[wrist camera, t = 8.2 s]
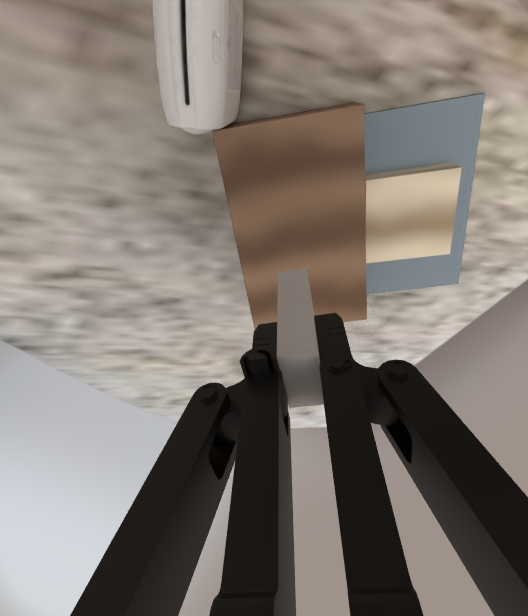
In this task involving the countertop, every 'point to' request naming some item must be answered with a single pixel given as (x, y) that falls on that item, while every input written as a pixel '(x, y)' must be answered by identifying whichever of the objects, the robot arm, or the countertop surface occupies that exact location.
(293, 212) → the board
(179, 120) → the photo printer
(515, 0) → the countertop surface
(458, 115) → the rubber mat
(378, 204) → the birch tile
